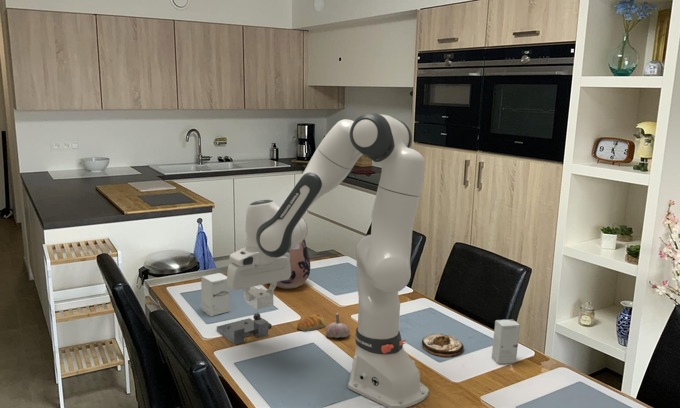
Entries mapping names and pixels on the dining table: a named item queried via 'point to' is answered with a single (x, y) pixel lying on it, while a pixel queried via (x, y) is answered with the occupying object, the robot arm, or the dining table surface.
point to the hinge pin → (257, 317)
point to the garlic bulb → (337, 329)
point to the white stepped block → (260, 298)
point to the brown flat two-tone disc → (442, 345)
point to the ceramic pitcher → (297, 267)
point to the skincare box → (505, 341)
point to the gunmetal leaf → (243, 330)
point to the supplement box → (215, 294)
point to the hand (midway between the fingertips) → (259, 297)
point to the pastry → (311, 322)
